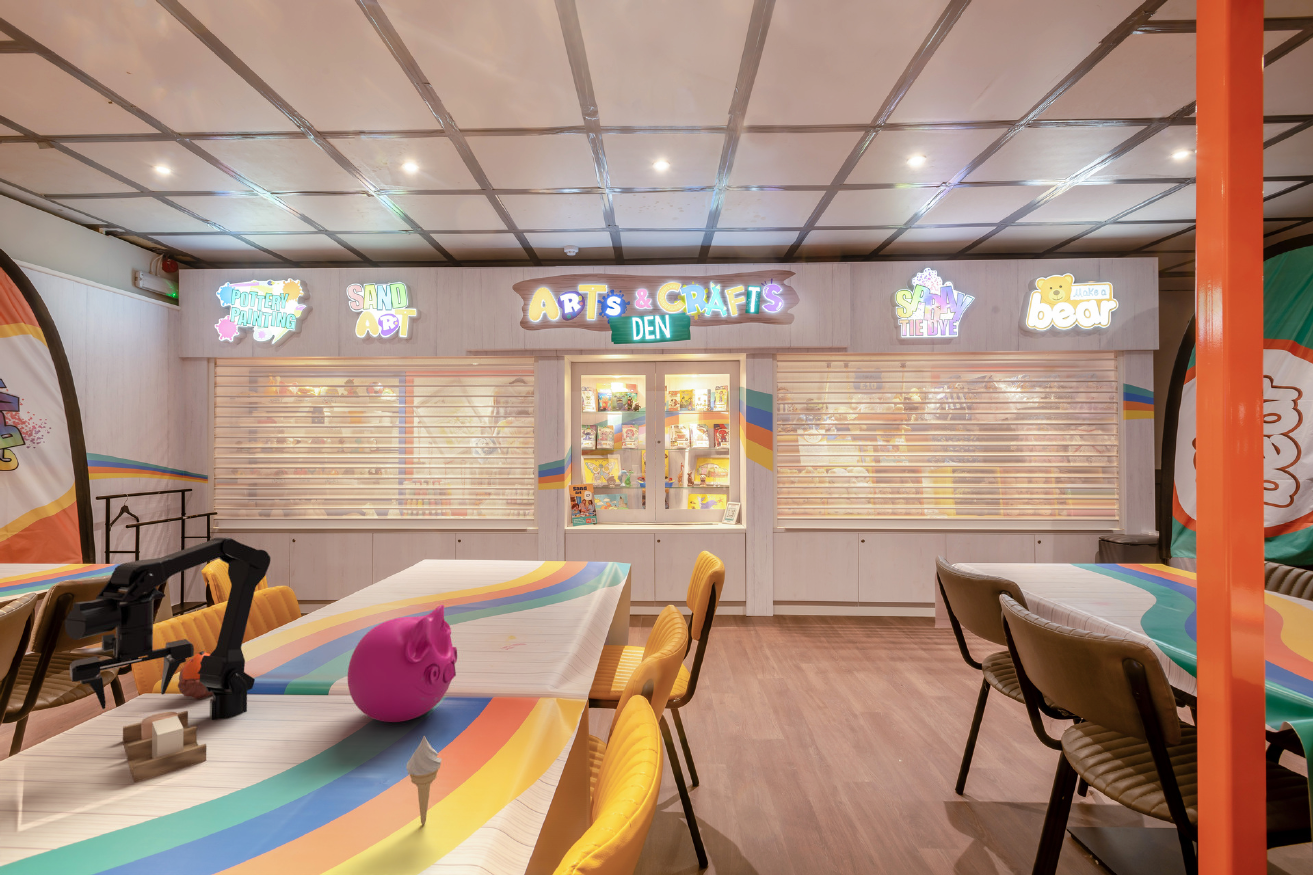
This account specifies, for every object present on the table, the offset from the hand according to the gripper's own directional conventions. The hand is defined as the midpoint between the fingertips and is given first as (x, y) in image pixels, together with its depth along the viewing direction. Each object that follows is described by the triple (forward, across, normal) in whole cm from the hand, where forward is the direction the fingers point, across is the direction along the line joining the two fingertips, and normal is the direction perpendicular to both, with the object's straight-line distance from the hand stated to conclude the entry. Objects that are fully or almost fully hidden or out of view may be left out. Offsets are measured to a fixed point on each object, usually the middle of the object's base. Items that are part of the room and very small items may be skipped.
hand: (134, 700), depth 122 cm
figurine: (+12, -46, +23) cm, 53 cm away
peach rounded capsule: (+11, -5, -4) cm, 13 cm away
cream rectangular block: (+11, -4, +7) cm, 14 cm away
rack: (+12, -4, +2) cm, 13 cm away
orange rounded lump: (+12, -17, -28) cm, 35 cm away
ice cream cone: (+12, -29, +65) cm, 72 cm away
